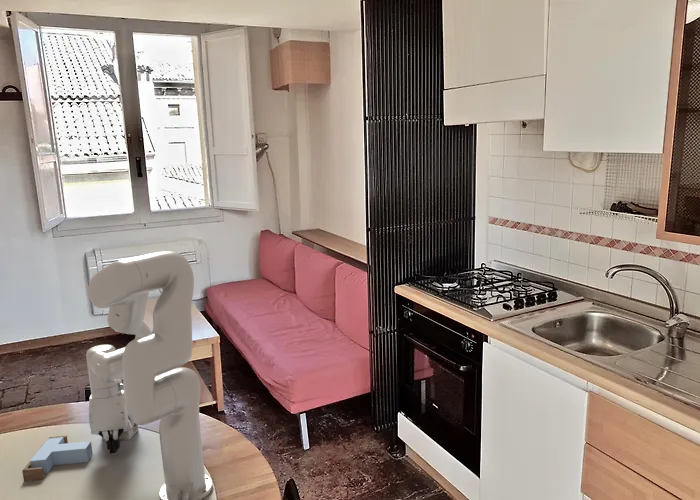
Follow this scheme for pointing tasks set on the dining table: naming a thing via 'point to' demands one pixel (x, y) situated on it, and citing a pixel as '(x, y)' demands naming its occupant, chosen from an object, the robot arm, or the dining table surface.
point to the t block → (61, 453)
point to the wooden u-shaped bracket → (36, 472)
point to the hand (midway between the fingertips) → (114, 451)
